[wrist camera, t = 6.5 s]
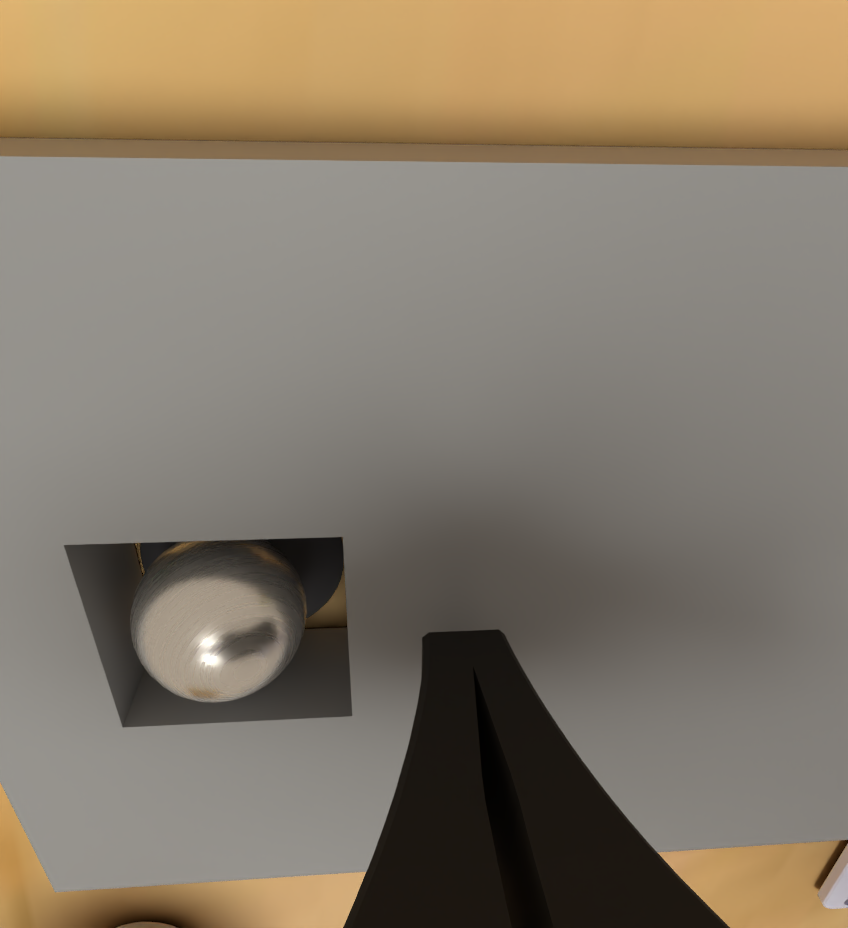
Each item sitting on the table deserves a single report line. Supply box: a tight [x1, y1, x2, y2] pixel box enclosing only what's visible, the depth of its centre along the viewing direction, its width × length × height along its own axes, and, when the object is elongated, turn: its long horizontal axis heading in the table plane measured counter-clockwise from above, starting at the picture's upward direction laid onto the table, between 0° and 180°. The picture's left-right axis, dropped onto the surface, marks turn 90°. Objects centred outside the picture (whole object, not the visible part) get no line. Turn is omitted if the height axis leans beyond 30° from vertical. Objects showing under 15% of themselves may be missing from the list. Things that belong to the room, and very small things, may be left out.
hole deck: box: [0, 137, 848, 892], centre depth 13 cm, size 20×16×2 cm
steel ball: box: [130, 539, 307, 703], centre depth 13 cm, size 3×3×3 cm
